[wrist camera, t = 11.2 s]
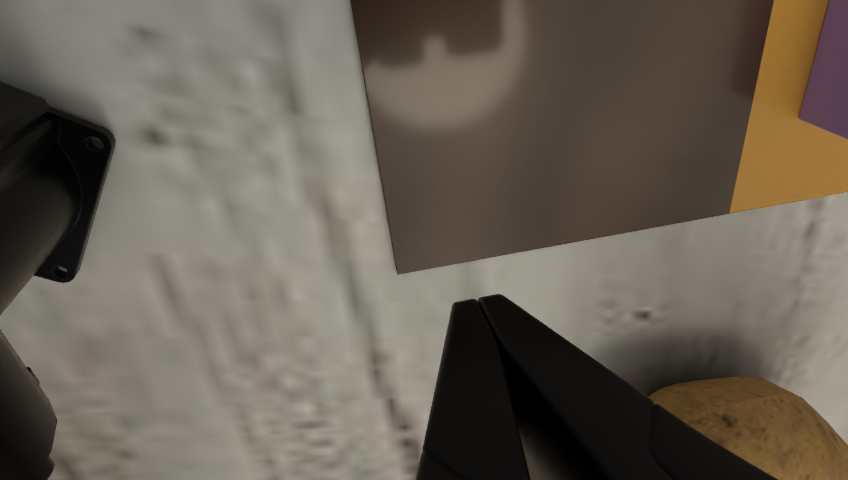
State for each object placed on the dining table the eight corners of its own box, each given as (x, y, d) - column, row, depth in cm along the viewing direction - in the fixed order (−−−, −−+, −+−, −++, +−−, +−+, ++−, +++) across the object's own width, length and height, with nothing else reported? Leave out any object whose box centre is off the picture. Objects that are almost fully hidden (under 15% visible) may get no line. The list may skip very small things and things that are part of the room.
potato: (653, 301, 26) (767, 434, 19) (822, 376, 31) (959, 502, 25) (539, 431, 30) (602, 582, 23) (707, 480, 35) (799, 614, 28)
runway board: (397, 272, 23) (397, 274, 23) (330, -118, 16) (330, -118, 16) (726, 211, 24) (729, 213, 24) (807, -179, 17) (811, -180, 17)
